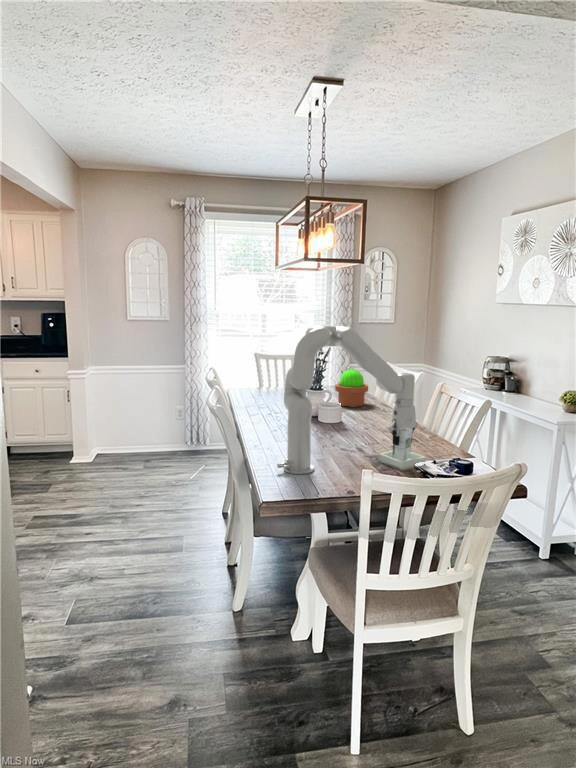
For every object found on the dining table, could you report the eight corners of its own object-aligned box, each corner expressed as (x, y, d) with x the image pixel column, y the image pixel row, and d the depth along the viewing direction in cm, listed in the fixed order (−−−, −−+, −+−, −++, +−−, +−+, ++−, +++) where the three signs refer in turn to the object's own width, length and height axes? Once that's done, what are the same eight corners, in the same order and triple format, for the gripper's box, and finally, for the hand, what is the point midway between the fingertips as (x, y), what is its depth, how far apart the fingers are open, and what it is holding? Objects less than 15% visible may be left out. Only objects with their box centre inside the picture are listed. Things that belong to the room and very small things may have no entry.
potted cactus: (363, 409, 309) (364, 371, 305) (331, 406, 317) (331, 369, 312) (370, 402, 329) (371, 367, 325) (339, 400, 337) (340, 365, 333)
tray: (402, 470, 196) (402, 462, 195) (378, 461, 207) (378, 453, 207) (425, 464, 203) (426, 457, 202) (401, 456, 215) (401, 448, 214)
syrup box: (398, 455, 209) (399, 423, 206) (410, 458, 205) (412, 425, 203) (392, 458, 204) (393, 425, 202) (404, 461, 201) (406, 428, 198)
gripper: (395, 406, 193) (393, 448, 196) (425, 402, 202) (423, 442, 205) (382, 403, 199) (381, 444, 202) (412, 398, 208) (409, 438, 211)
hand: (402, 442), depth 204 cm, fingers closed on syrup box, 7 cm apart
